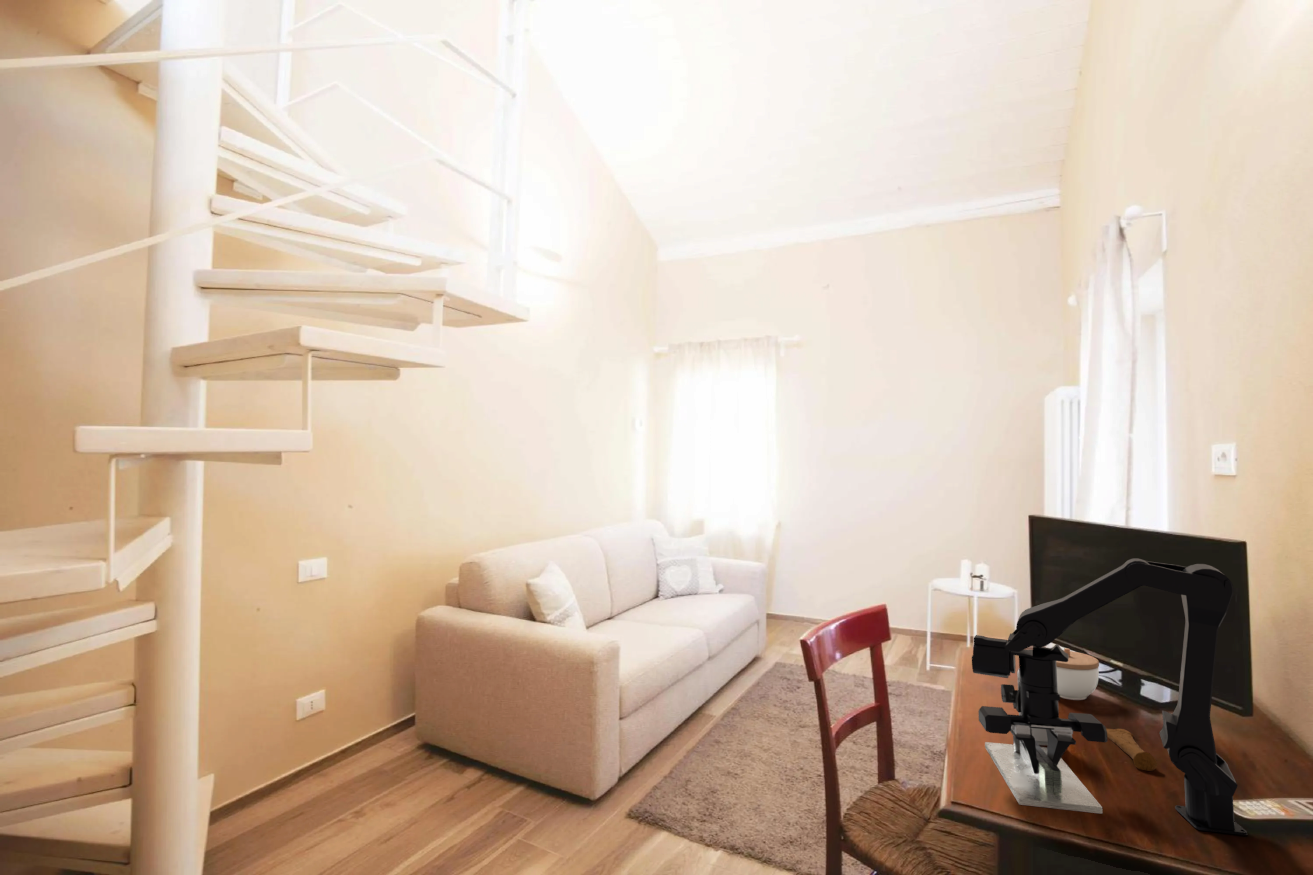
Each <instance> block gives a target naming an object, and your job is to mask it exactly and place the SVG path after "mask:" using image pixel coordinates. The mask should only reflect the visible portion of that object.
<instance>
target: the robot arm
mask: <svg viewBox="0 0 1313 875" xmlns="http://www.w3.org/2000/svg"><path fill="white" fill-rule="evenodd" d="M1140 587H1149V588H1153V589H1157V590H1159V591H1160V590H1161V591H1165V592H1168V593H1171V594H1172V593H1173V594H1176V595H1180V596H1181V601H1182V606H1183V608H1182V609H1183V612H1184V613H1183V614H1184V617H1185V621H1184V622H1185V624H1184V636H1183V643H1182V644H1183V645H1182V657H1181V665H1180V674H1179V675H1180V678H1179V685H1178V686H1179V687H1178V689H1179V690H1178V697H1177V705H1176V707H1175V709H1174V710H1173V712H1172V713H1170V712H1168V711H1166V710H1161V715H1162V722H1163V723H1162V728H1161V729H1160V731H1159V732H1158V733H1159V736H1160V739H1161V743H1162V747H1163V749H1165V750H1167V753H1168V756H1169V759H1170V761H1171V763H1172V764H1173V765H1174V766H1175V767H1176V768H1177V769H1178V770H1179V771H1180V772H1182V773H1184V775H1183V778H1184V779H1183V780H1184V782H1183V783H1184V800H1185V801H1184V802H1185V805H1175V806H1174V809H1175V810H1176V811H1177V812H1178V813H1179V814H1180V815H1181V816H1182V817H1183V818H1185V820H1187V822H1188V823H1190V825H1192V826H1193V827H1194V828H1195V829H1196V830H1199V831H1203V832H1204V831H1205V832H1211V833H1212V832H1213V833H1220V834H1229V835H1231V834H1232V835H1238V836H1239V835H1240V836H1247V835H1248V831H1247V830H1246V829H1245V828H1243V826H1241V825H1240V823H1237V821H1235V810H1234V809H1235V808H1234V806H1235V805H1234V795H1235V792H1236V790H1237V789H1238V784H1237V782H1236V779H1235V778H1234V775H1233V773H1232V772H1231V768H1230V767H1229V765H1228V763H1227V762H1226V761H1225V760H1224V759H1223V757H1221V756H1220V755H1219V754H1218V753H1217V751H1216V743H1215V738H1214V737H1215V736H1214V731H1213V726H1212V722H1211V721H1212V720H1211V709H1212V700H1213V691H1214V689H1213V688H1214V687H1213V686H1214V679H1215V668H1216V659H1217V658H1216V656H1217V647H1218V646H1217V645H1218V636H1219V630H1220V627H1221V624H1222V623H1223V621H1224V620H1225V617H1226V615H1227V613H1228V610H1229V608H1230V604H1231V601H1232V599H1233V597H1234V593H1235V591H1234V585H1233V582H1232V581H1231V580H1230V578H1228V577H1227V575H1226V574H1224V573H1223V572H1221V571H1220V569H1218V568H1216V567H1215V566H1212V565H1209V564H1205V563H1196V564H1190V565H1188V566H1183V565H1179V564H1170V563H1163V562H1156V561H1155V562H1154V561H1148V560H1144V559H1141V558H1138V557H1137V558H1136V557H1135V558H1130V559H1128V560H1126V561H1125V562H1124V563H1123V564H1122V565H1120V566H1118V567H1117V568H1115V569H1113V570H1111V571H1109V572H1108V573H1106V574H1104V575H1102V576H1100V577H1098V578H1097V579H1094V580H1093V581H1092V582H1089V583H1087V584H1085V585H1083V586H1082V587H1080V588H1078V589H1077V590H1074V591H1073V592H1072V593H1069V594H1067V595H1065V596H1063V597H1061V598H1059V599H1055V600H1052V601H1048V602H1043V603H1041V604H1039V605H1035V606H1031V607H1028V608H1027V609H1024V610H1023V611H1022V612H1021V613H1020V614H1019V616H1018V620H1017V622H1016V628H1015V630H1013V632H1012V633H1009V635H1008V638H1007V639H1002V638H995V637H988V636H984V635H979V634H976V635H974V637H973V648H972V655H971V667H972V672H973V674H978V675H984V676H990V677H997V678H998V677H999V678H1003V679H1009V676H1011V674H1016V669H1017V668H1016V664H1017V663H1016V661H1017V660H1016V656H1018V667H1019V668H1018V669H1019V674H1020V682H1019V684H1018V683H1017V689H1015V686H1014V685H1013V684H1005V683H1004V684H1003V683H1002V684H1000V694H1001V702H1002V703H1005V704H1006V703H1007V704H1012V705H1013V710H1014V709H1015V710H1016V712H1017V713H1019V712H1021V715H1019V714H1008V713H1007V712H1006V710H1005V709H1004V708H1003V707H1000V706H999V707H998V706H986V705H982V706H981V707H980V708H979V709H978V721H979V723H980V725H981V726H982V728H983V729H984V730H985V732H987V733H991V734H999V735H1001V734H1002V735H1007V734H1009V733H1011V734H1012V737H1013V736H1014V737H1015V738H1016V739H1017V740H1020V741H1021V743H1022V745H1023V748H1024V750H1025V753H1026V755H1027V758H1028V761H1029V763H1030V766H1031V769H1032V771H1033V772H1034V774H1037V756H1036V745H1035V738H1034V737H1033V736H1032V734H1031V731H1030V728H1038V729H1046V733H1047V738H1048V745H1046V746H1047V747H1046V748H1047V756H1048V757H1049V758H1050V760H1051V761H1052V762H1053V763H1054V764H1056V766H1057V765H1058V763H1059V761H1060V759H1061V758H1062V757H1063V756H1064V754H1065V753H1066V751H1067V750H1068V748H1069V747H1070V745H1076V744H1077V741H1076V740H1075V739H1074V738H1073V735H1074V732H1075V733H1077V732H1078V733H1080V735H1081V736H1082V737H1083V738H1084V739H1085V740H1086V741H1087V742H1096V743H1097V742H1098V743H1107V742H1108V737H1107V730H1106V729H1107V727H1106V725H1104V724H1103V723H1102V722H1101V721H1100V720H1098V719H1097V718H1096V717H1095V716H1094V715H1093V714H1091V713H1083V712H1082V713H1080V712H1069V714H1068V717H1067V718H1061V717H1059V716H1060V715H1059V713H1060V712H1059V702H1060V701H1061V697H1060V695H1059V694H1058V687H1057V666H1056V661H1061V662H1068V658H1069V655H1068V654H1067V653H1066V652H1065V651H1063V650H1064V649H1062V648H1061V646H1060V644H1058V643H1056V644H1054V646H1052V647H1047V646H1049V645H1050V644H1051V643H1052V642H1054V641H1055V640H1056V639H1057V638H1058V637H1060V636H1061V635H1063V633H1064V632H1065V631H1067V629H1069V628H1070V627H1071V626H1072V625H1073V624H1074V623H1075V622H1077V621H1078V620H1080V619H1081V618H1084V617H1086V616H1087V615H1089V614H1091V613H1093V612H1095V611H1096V610H1099V609H1100V608H1102V607H1104V606H1106V605H1108V604H1110V603H1112V602H1114V601H1116V600H1117V599H1120V598H1121V597H1123V596H1125V595H1127V594H1129V593H1131V592H1133V591H1135V590H1137V589H1138V588H1140ZM1030 647H1032V649H1028V648H1030ZM1234 821H1235V822H1234Z"/></svg>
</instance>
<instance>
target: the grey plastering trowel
mask: <svg viewBox="0 0 1313 875" xmlns="http://www.w3.org/2000/svg"><path fill="white" fill-rule="evenodd" d="M1030 731H1031V734H1032V729H1031V728H1030ZM1012 738H1013V744H1011V743H1002V742H1001V743H1000V742H988V741H985V742H984V748H985V749H986V751H987V753H988V754H989V756H990V758H991V760H992V761H993V763H994V764H995V767H996V768H997V769H998V771H999V773H1000V775H1001V776H1002V778H1003V780H1004V782H1005V783H1006V785H1007V787H1008V789H1010V790H1009V791H1010V792H1011V793H1012V795H1013V796H1014V798H1015V799H1016V801H1017V803H1018V805H1022V806H1030V807H1039V808H1047V809H1056V810H1057V809H1058V810H1065V811H1074V812H1084V813H1092V814H1093V813H1094V814H1103V806H1102V805H1101V804H1100V803H1099V802H1098V800H1097V799H1096V798H1095V797H1094V795H1093V794H1092V793H1091V792H1090V791H1089V790H1088V788H1087V787H1086V785H1084V784H1083V782H1082V781H1081V780H1080V779H1079V777H1078V776H1077V775H1076V774H1075V773H1074V772H1073V771H1072V769H1071V768H1070V767H1069V765H1068V764H1067V763H1066V762H1065V761H1064V760H1063V758H1062V757H1061V759H1060V761H1059V763H1058V765H1057V767H1058V768H1059V769H1060V771H1061V778H1062V793H1056V792H1053V771H1052V769H1051V768H1050V767H1049V766H1048V764H1047V763H1046V762H1045V761H1044V760H1043V758H1042V757H1041V756H1040V754H1039V753H1038V752H1037V751H1036V756H1037V774H1034V772H1033V771H1032V769H1031V766H1030V763H1029V761H1028V758H1027V755H1026V753H1025V750H1024V748H1023V745H1022V743H1021V741H1020V740H1017V739H1016V738H1015V737H1014V736H1013V735H1012ZM1040 747H1041V748H1042V750H1043V751H1044V752H1045V753H1046V755H1047V747H1045V746H1040Z"/></svg>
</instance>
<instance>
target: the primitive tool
mask: <svg viewBox="0 0 1313 875" xmlns="http://www.w3.org/2000/svg"><path fill="white" fill-rule="evenodd" d="M1106 730H1107V739H1109V740H1110V741H1112V742H1113V743H1114V744H1115V745H1117V746H1118V747H1119V748H1120V749H1121V750H1122V751H1123V752H1124V753H1125V754H1126V755H1128V756H1129V757H1130V758H1131V759H1132V761H1133V765H1134V767H1135V768H1137V769H1138V770H1141V771H1148V772H1154V771H1155V769H1156V768H1157V767H1158V762H1157V760H1156V758H1155V757H1154V756H1153V755H1152V754H1151V753H1149V752H1147V751H1145V750H1143V749H1142V748H1141V746H1140V745H1139V744H1138V742H1136V740H1135V739H1134V734H1133V733H1132V732H1130V731H1128V730H1126V729H1125V728H1115V729H1113V728H1107V727H1106Z"/></svg>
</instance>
